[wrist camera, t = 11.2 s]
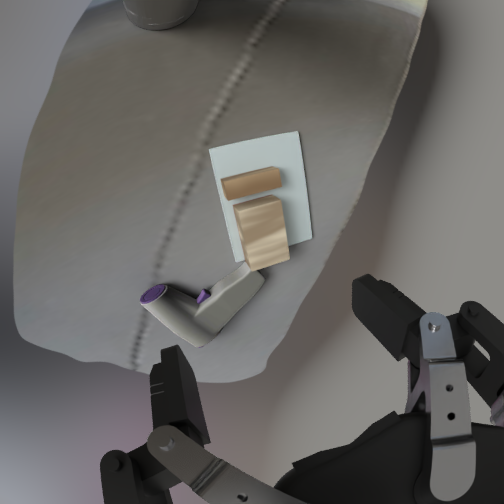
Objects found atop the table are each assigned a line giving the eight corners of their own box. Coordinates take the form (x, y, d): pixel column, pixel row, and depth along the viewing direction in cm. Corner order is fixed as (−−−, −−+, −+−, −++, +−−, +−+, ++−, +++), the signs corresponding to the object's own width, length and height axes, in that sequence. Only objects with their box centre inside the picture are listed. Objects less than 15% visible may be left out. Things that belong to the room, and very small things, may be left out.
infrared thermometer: (261, 273, 43) (195, 336, 43) (208, 220, 37) (137, 295, 37) (273, 286, 39) (201, 354, 39) (215, 230, 33) (136, 312, 33)
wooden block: (238, 211, 33) (251, 271, 37) (281, 199, 34) (289, 259, 38) (232, 204, 35) (245, 261, 39) (271, 194, 36) (281, 249, 40)
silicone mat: (208, 149, 32) (209, 149, 32) (296, 131, 34) (298, 131, 34) (235, 260, 40) (236, 262, 39) (310, 237, 42) (312, 238, 41)
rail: (220, 178, 34) (223, 181, 32) (272, 166, 35) (279, 168, 33) (224, 196, 35) (228, 200, 33) (275, 183, 36) (282, 186, 34)
